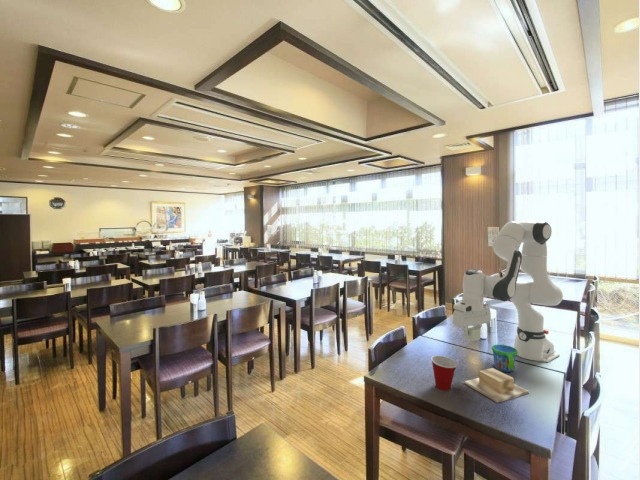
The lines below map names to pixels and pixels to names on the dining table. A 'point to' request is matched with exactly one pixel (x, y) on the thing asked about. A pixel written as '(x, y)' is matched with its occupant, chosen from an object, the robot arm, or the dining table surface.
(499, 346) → the snack cup
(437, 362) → the plastic cup
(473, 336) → the sage cube
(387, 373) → the dining table surface
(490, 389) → the foundation base
